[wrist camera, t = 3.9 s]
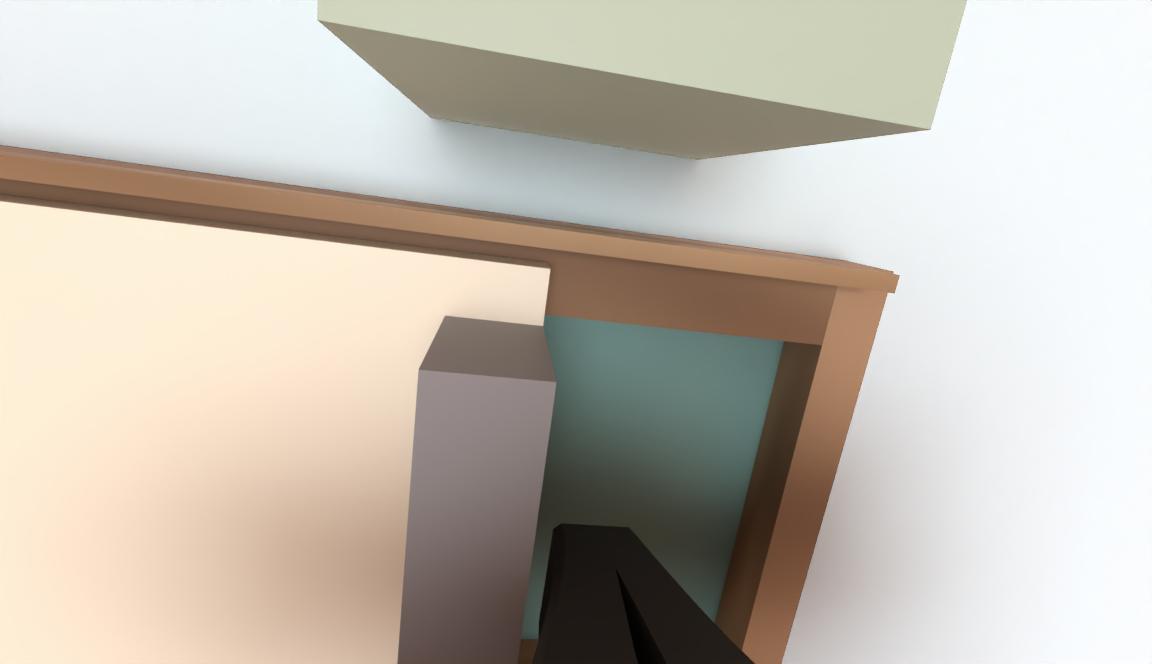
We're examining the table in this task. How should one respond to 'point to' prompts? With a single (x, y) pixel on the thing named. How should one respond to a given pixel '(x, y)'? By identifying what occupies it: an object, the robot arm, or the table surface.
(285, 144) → the table surface
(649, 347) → the board
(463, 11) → the sage block
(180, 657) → the lid
